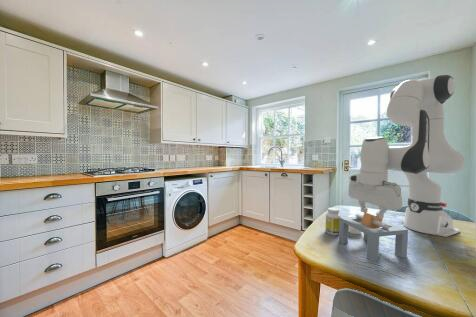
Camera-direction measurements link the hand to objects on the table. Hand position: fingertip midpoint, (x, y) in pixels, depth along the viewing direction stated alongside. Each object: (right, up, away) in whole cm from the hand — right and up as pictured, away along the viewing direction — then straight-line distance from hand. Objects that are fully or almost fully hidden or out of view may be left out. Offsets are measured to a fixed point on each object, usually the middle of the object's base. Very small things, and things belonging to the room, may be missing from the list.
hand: (371, 215), depth 77 cm
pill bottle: (-8, -13, +15) cm, 21 cm away
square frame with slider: (0, -13, +1) cm, 13 cm away
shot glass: (+3, -13, +17) cm, 21 cm away
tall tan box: (-2, -7, 0) cm, 7 cm away
